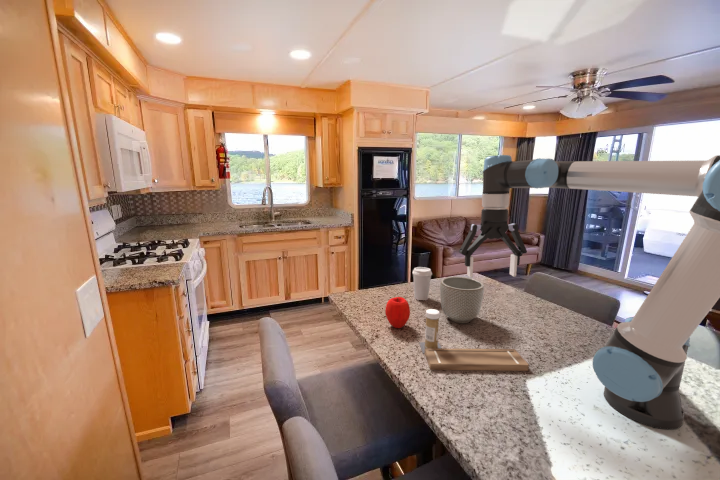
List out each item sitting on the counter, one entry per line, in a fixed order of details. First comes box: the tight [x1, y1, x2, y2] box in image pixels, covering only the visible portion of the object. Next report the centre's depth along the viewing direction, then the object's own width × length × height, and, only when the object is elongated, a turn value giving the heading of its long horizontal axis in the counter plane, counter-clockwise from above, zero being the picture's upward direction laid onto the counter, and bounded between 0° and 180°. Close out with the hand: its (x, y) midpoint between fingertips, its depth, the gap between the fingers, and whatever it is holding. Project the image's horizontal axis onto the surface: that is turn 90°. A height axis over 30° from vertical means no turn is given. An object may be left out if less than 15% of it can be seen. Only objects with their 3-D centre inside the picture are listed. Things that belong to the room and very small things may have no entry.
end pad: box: [418, 341, 442, 355], centre depth 107 cm, size 7×7×1 cm
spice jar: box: [424, 308, 441, 348], centre depth 105 cm, size 5×5×14 cm
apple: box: [384, 296, 411, 329], centre depth 122 cm, size 10×10×12 cm
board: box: [424, 347, 530, 372], centre depth 99 cm, size 9×30×2 cm, turn 89°
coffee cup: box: [412, 266, 433, 301], centre depth 151 cm, size 10×10×15 cm
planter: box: [439, 276, 485, 324], centre depth 128 cm, size 17×17×16 cm
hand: (491, 276), depth 97 cm, fingers open, 13 cm apart
